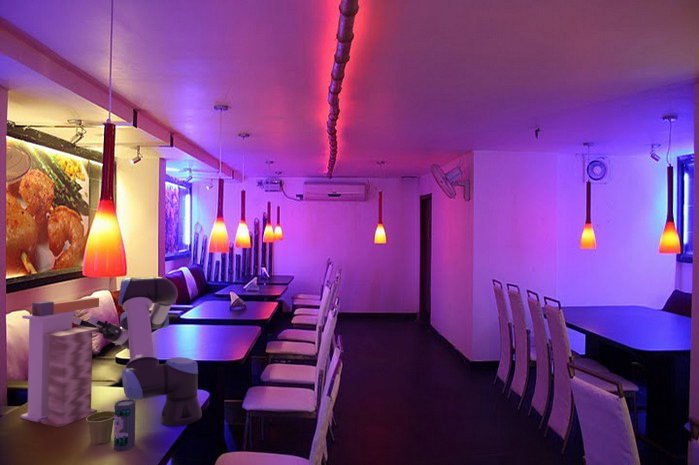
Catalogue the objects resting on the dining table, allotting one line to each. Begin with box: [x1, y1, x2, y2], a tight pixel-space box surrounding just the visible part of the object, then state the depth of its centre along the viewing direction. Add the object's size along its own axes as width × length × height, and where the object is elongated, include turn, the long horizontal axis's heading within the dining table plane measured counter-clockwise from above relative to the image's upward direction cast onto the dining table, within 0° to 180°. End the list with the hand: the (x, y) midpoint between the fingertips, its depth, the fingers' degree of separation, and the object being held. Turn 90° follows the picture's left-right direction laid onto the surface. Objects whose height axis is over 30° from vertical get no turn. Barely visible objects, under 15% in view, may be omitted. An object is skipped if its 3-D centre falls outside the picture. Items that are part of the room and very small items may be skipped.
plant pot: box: [85, 410, 115, 445], centre depth 158 cm, size 9×9×9 cm
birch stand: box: [40, 326, 99, 428], centre depth 178 cm, size 16×10×34 cm, turn 158°
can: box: [113, 399, 136, 452], centre depth 154 cm, size 6×6×15 cm
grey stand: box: [20, 310, 79, 423], centre depth 182 cm, size 16×10×40 cm, turn 158°
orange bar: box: [31, 297, 100, 316], centre depth 189 cm, size 26×5×5 cm, turn 158°
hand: (79, 318), depth 194 cm, fingers open, 13 cm apart
